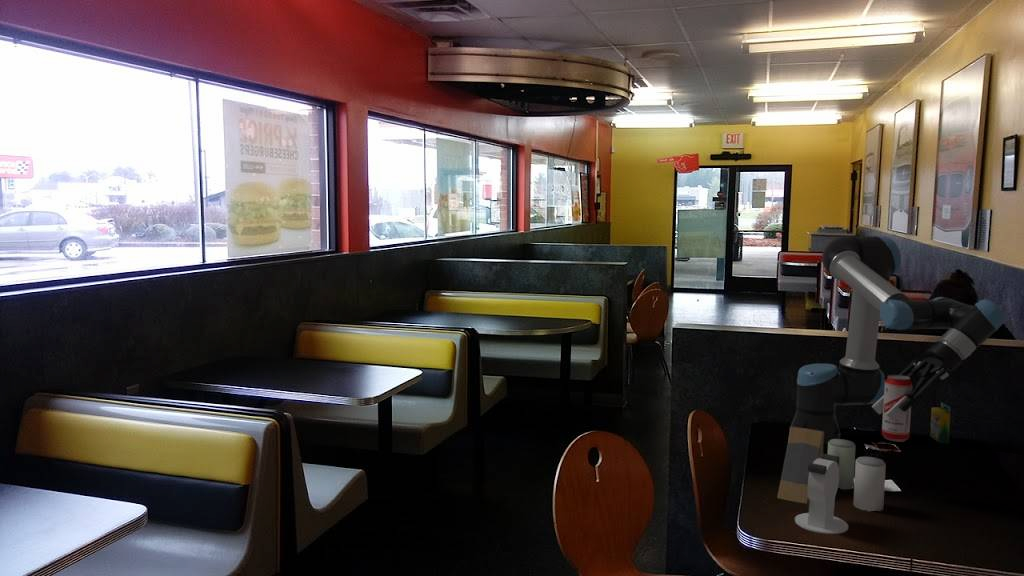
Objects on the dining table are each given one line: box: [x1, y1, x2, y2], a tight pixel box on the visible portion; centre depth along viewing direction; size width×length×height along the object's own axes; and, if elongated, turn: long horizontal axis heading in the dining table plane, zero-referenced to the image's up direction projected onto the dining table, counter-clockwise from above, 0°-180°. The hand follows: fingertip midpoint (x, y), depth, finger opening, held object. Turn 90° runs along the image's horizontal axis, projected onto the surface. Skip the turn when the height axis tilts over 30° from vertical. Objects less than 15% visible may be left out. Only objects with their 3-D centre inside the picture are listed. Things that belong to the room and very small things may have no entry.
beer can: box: [881, 374, 913, 443], centre depth 192 cm, size 6×6×16 cm
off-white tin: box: [853, 456, 887, 512], centre depth 184 cm, size 7×7×12 cm
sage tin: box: [827, 438, 856, 490], centre depth 199 cm, size 7×7×12 cm
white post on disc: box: [794, 453, 849, 535], centre depth 174 cm, size 12×11×15 cm
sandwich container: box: [777, 426, 824, 505], centre depth 194 cm, size 9×15×15 cm, turn 150°
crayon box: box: [929, 401, 952, 445], centre depth 241 cm, size 7×3×12 cm, turn 172°
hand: (882, 414), depth 192 cm, fingers closed on beer can, 6 cm apart
